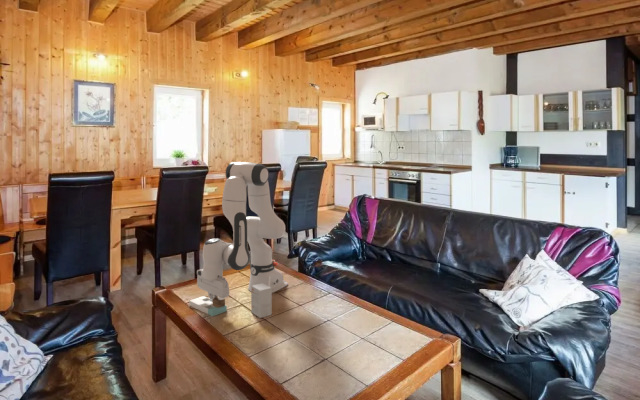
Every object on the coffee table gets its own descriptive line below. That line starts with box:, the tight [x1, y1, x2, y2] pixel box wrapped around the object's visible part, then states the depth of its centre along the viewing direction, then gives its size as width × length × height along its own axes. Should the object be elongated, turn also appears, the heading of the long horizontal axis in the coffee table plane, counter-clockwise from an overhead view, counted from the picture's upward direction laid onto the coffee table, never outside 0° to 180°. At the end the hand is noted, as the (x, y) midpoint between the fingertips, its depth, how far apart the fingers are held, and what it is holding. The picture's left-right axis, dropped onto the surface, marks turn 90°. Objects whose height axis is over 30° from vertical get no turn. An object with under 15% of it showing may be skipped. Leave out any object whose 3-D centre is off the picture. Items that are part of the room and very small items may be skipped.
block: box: [213, 297, 226, 308], centre depth 191 cm, size 4×4×3 cm
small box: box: [250, 283, 273, 319], centre depth 189 cm, size 8×6×13 cm
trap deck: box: [188, 295, 228, 317], centre depth 194 cm, size 8×18×2 cm, turn 50°
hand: (213, 301), depth 194 cm, fingers closed
